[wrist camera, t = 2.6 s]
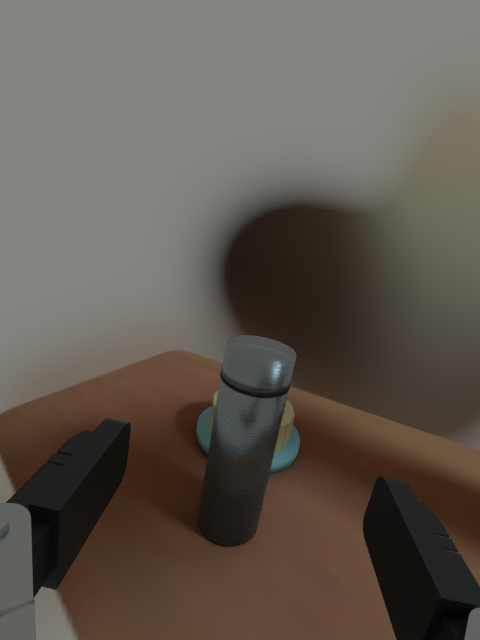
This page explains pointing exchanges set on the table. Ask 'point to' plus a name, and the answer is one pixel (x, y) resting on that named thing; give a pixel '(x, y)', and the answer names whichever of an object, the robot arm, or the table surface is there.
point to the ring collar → (285, 442)
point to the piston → (244, 436)
